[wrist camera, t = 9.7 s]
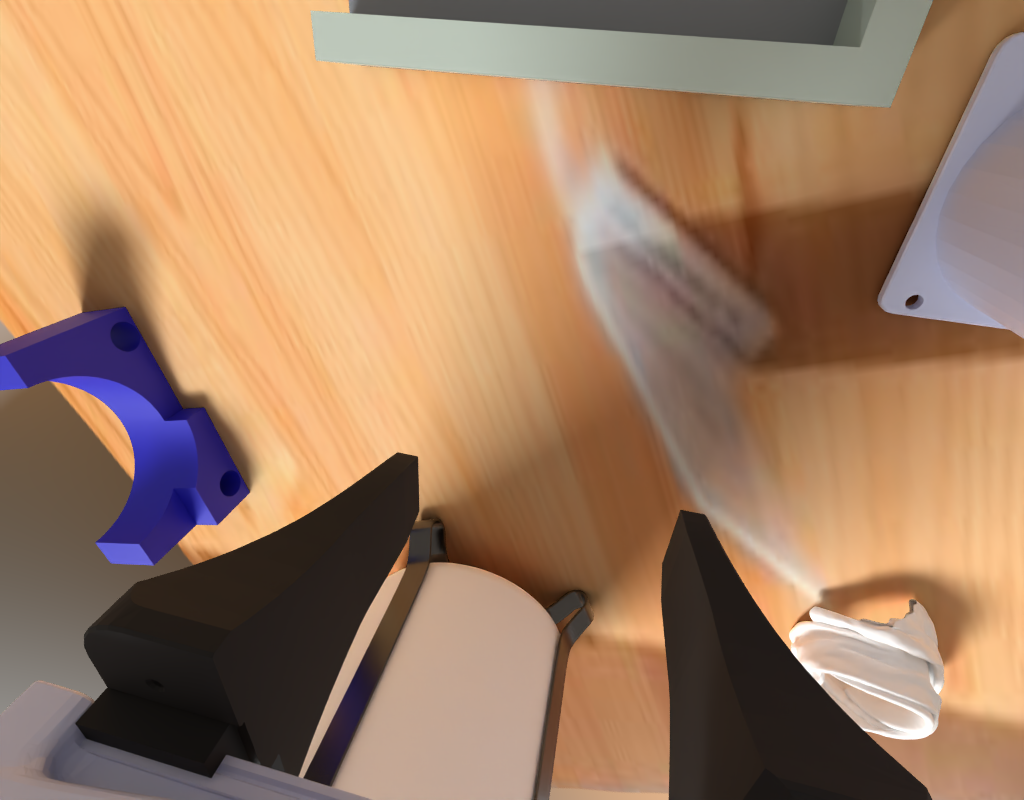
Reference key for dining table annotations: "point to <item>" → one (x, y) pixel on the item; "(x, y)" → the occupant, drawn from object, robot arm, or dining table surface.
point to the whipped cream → (876, 668)
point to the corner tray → (643, 43)
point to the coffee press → (448, 686)
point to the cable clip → (135, 429)
